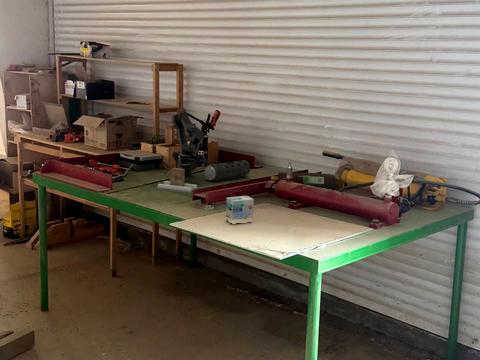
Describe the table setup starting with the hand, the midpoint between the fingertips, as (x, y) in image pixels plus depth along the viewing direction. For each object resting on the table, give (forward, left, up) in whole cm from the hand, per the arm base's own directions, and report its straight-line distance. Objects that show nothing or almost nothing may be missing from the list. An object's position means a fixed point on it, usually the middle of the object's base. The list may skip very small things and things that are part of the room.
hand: (184, 170), depth 318 cm
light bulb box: (+5, +71, -9) cm, 72 cm away
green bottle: (-57, +36, -9) cm, 68 cm away
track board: (+6, +5, -9) cm, 12 cm away
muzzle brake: (-31, -6, -9) cm, 33 cm away
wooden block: (+6, +5, -8) cm, 11 cm away
